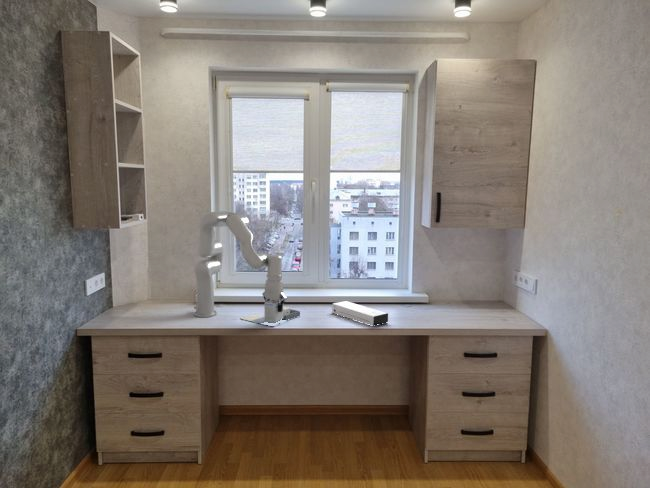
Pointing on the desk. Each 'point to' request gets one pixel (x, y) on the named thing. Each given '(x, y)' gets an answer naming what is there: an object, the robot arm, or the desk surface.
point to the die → (286, 311)
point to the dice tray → (291, 314)
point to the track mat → (255, 318)
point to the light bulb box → (272, 311)
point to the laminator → (359, 313)
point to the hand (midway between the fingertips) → (274, 310)
